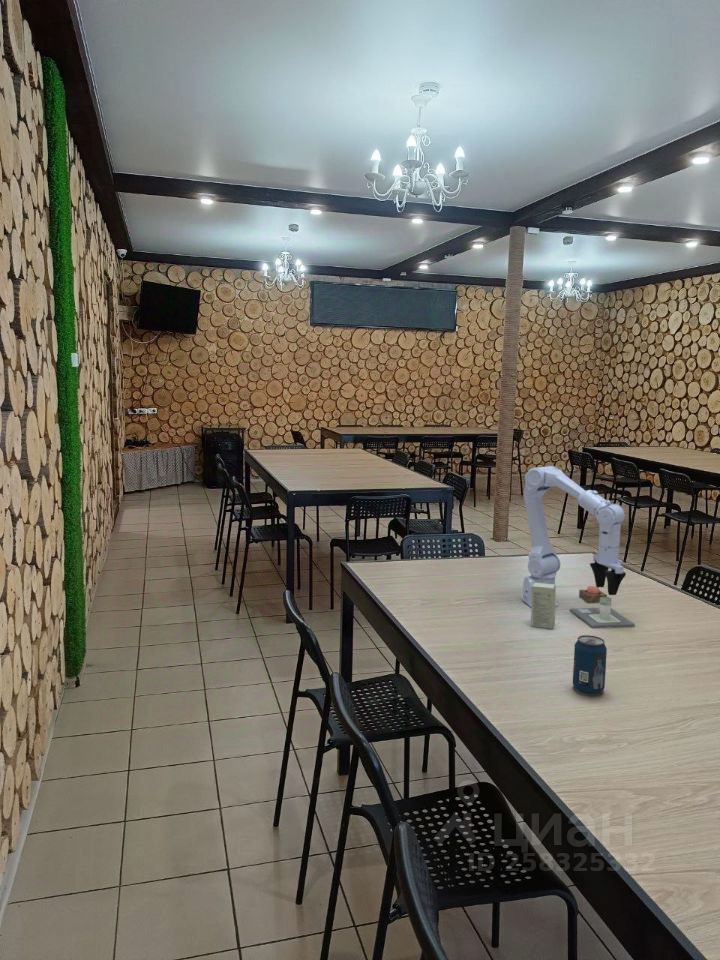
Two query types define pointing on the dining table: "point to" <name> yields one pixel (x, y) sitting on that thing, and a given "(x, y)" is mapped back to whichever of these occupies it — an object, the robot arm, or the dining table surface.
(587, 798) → the dining table surface
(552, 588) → the skincare box
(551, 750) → the dining table surface
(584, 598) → the button box
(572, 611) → the picture board
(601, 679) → the soda can
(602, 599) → the pale green cylinder
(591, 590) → the button
